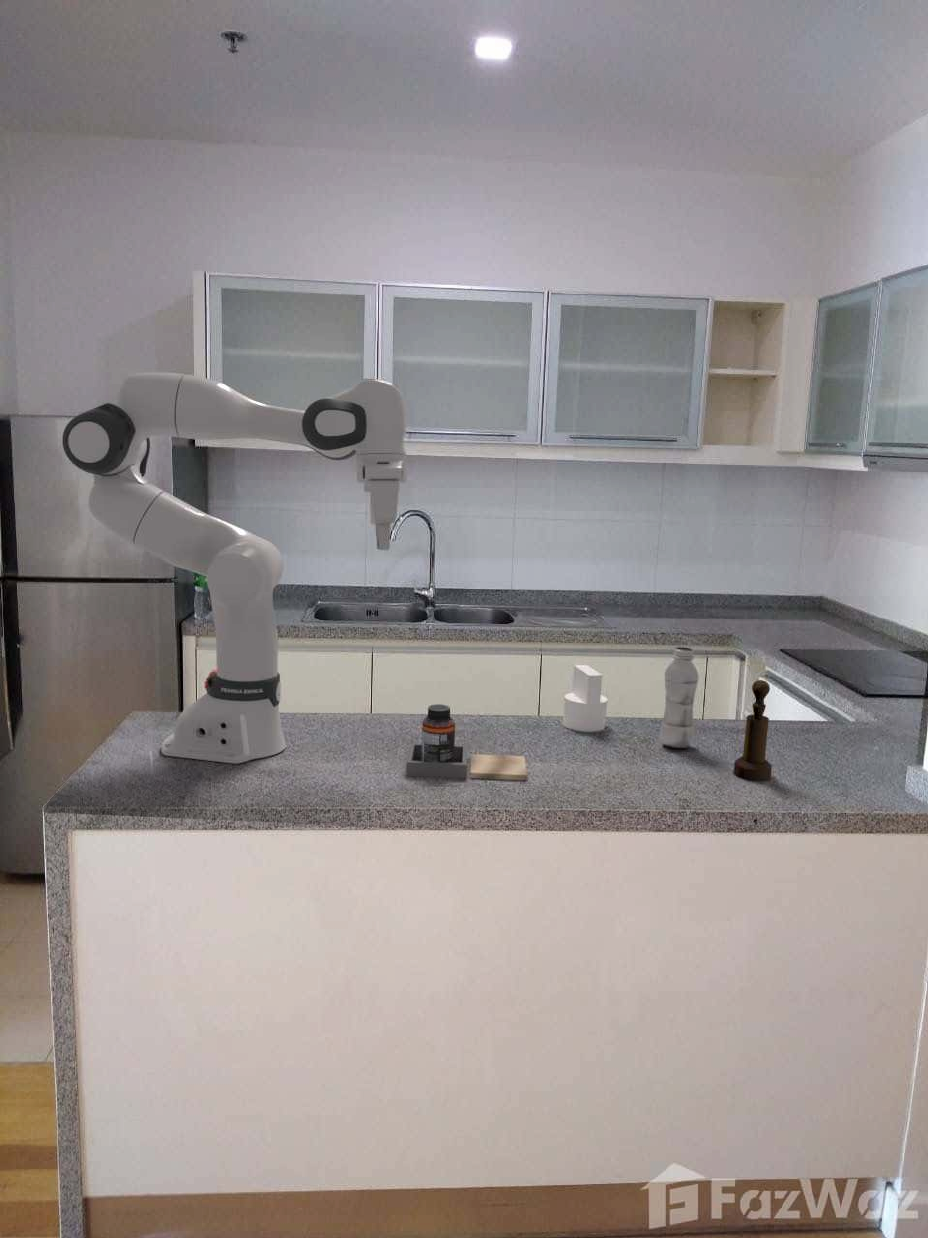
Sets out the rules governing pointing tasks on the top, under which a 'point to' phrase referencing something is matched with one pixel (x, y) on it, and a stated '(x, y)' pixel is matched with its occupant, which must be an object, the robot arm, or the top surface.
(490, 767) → the coaster
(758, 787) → the top surface
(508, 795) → the top surface
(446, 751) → the supplement bottle
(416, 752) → the holder
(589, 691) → the base with upright slab
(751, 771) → the brown wooden upright piece
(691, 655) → the plastic bottle
